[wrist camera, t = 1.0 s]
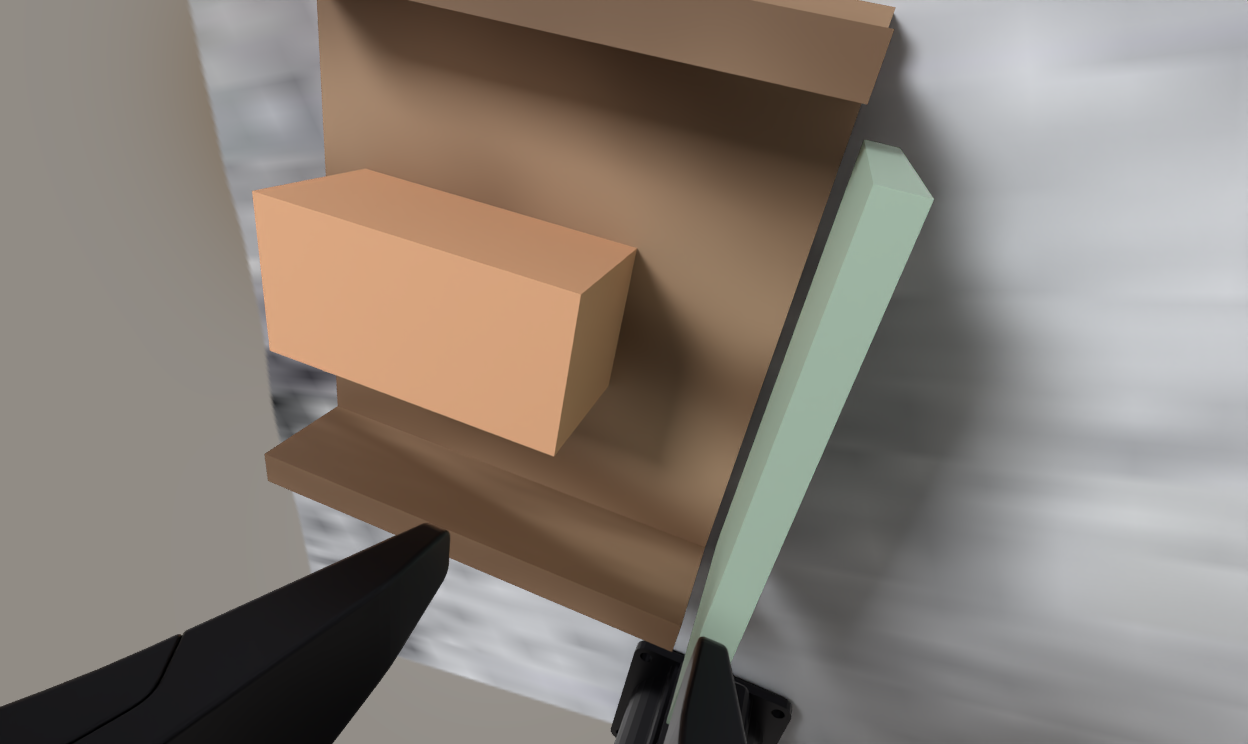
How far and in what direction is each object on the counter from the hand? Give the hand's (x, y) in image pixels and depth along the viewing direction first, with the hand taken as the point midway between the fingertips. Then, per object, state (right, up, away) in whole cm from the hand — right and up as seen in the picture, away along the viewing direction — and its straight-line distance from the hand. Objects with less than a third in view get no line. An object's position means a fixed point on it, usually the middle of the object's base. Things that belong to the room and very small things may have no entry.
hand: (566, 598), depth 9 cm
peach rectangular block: (-3, +6, +10) cm, 12 cm away
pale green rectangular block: (+5, +3, +8) cm, 10 cm away
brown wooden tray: (-2, +6, +10) cm, 12 cm away
